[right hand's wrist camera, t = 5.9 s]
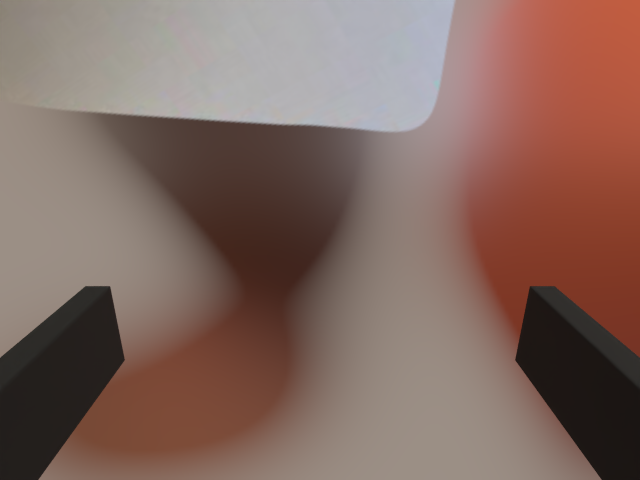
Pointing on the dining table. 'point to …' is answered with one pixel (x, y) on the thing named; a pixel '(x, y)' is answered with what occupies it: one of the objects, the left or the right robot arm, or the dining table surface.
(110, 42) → the dining table surface
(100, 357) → the right robot arm
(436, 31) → the dining table surface
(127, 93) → the dining table surface
